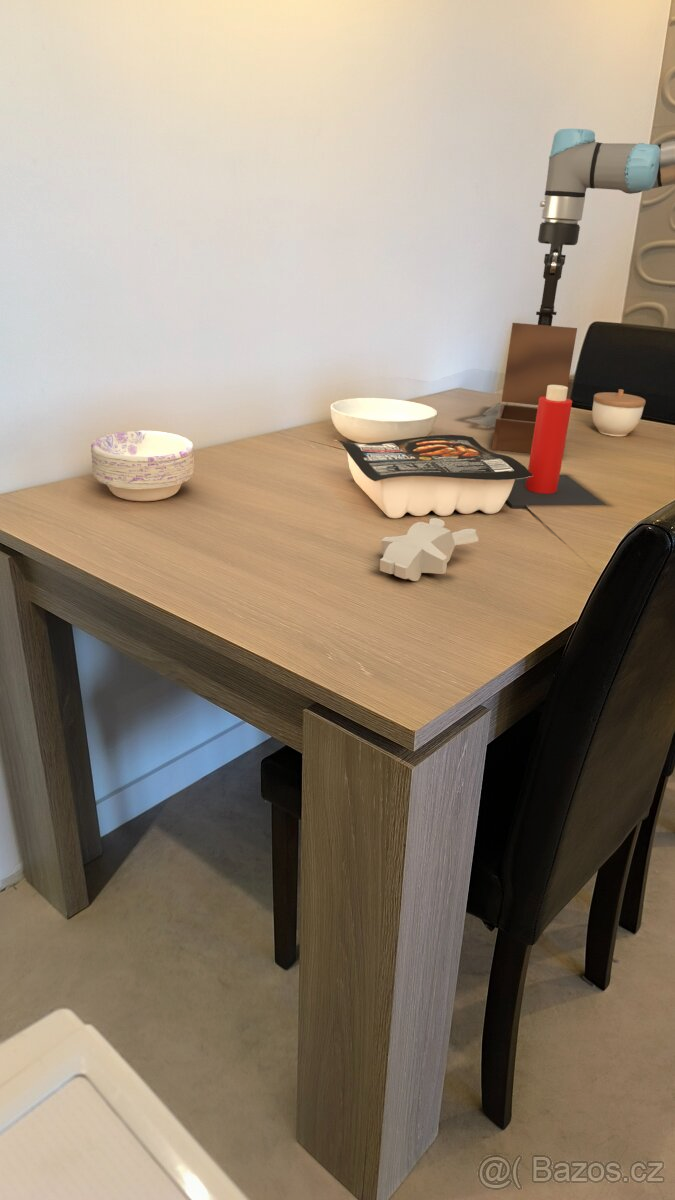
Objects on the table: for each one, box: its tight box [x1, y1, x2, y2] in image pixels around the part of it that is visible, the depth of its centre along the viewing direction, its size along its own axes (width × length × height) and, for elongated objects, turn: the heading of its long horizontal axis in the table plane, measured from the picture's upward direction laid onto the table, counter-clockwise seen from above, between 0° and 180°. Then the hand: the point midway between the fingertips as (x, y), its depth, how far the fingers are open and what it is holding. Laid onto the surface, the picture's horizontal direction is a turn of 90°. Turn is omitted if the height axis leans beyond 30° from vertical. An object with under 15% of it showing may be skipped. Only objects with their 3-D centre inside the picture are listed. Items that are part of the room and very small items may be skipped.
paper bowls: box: [90, 430, 195, 502], centre depth 127 cm, size 15×15×8 cm
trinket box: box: [591, 388, 646, 437], centre depth 179 cm, size 11×11×9 cm
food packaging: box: [334, 434, 533, 519], centre depth 131 cm, size 25×8×23 cm
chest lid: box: [501, 322, 578, 406], centre depth 166 cm, size 15×13×1 cm
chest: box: [491, 403, 538, 455], centre depth 164 cm, size 15×13×7 cm
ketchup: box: [525, 385, 573, 494], centre depth 135 cm, size 5×5×17 cm
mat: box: [505, 474, 607, 509], centre depth 139 cm, size 16×16×1 cm
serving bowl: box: [330, 397, 438, 443], centre depth 162 cm, size 21×21×7 cm
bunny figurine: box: [379, 517, 480, 582], centre depth 107 cm, size 10×5×15 cm
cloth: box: [465, 402, 509, 429], centre depth 186 cm, size 26×14×2 cm, turn 148°
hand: (540, 348), depth 168 cm, fingers closed
